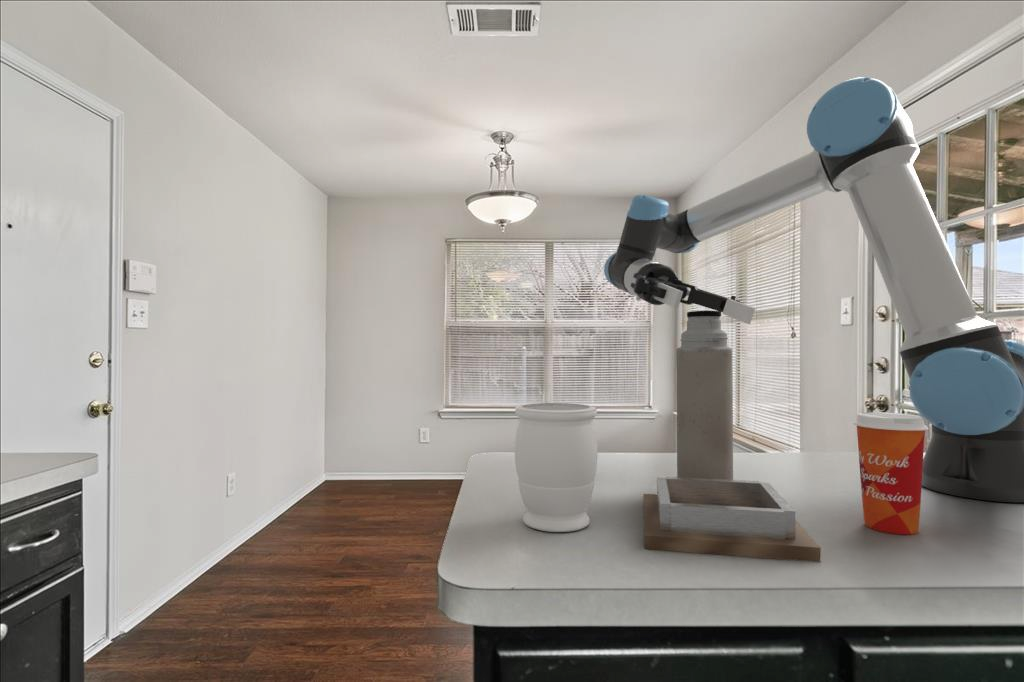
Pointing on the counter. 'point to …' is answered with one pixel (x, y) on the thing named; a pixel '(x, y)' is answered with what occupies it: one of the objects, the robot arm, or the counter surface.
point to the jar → (556, 464)
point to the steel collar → (724, 508)
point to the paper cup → (891, 470)
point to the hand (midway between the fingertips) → (715, 308)
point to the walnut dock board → (725, 539)
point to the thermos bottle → (704, 399)
